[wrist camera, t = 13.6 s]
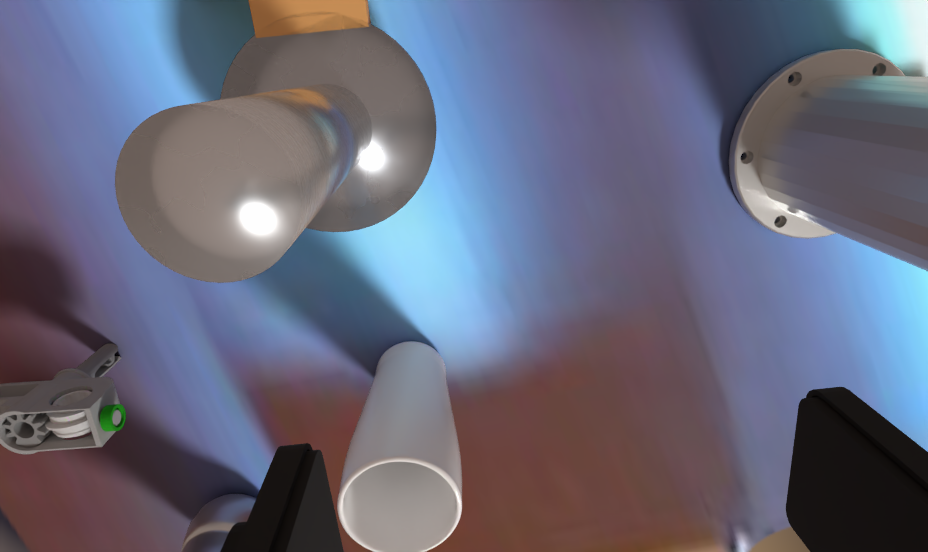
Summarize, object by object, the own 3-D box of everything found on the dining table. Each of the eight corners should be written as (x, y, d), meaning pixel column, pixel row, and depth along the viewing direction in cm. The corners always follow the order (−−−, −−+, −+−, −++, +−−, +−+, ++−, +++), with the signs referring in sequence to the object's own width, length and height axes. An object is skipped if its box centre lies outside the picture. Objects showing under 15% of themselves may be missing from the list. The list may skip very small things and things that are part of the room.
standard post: (425, 10, 36) (404, -84, 13) (445, 199, 40) (455, 371, 17) (233, 29, 36) (-118, -32, 13) (273, 216, 40) (59, 413, 17)
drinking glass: (413, 312, 43) (401, 433, 29) (473, 370, 45) (489, 510, 31) (349, 367, 44) (308, 508, 30) (410, 421, 46) (398, 578, 32)
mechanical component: (36, 339, 42) (-79, 417, 33) (176, 330, 42) (102, 405, 33) (48, 374, 43) (-60, 460, 34) (185, 365, 43) (115, 448, 34)
